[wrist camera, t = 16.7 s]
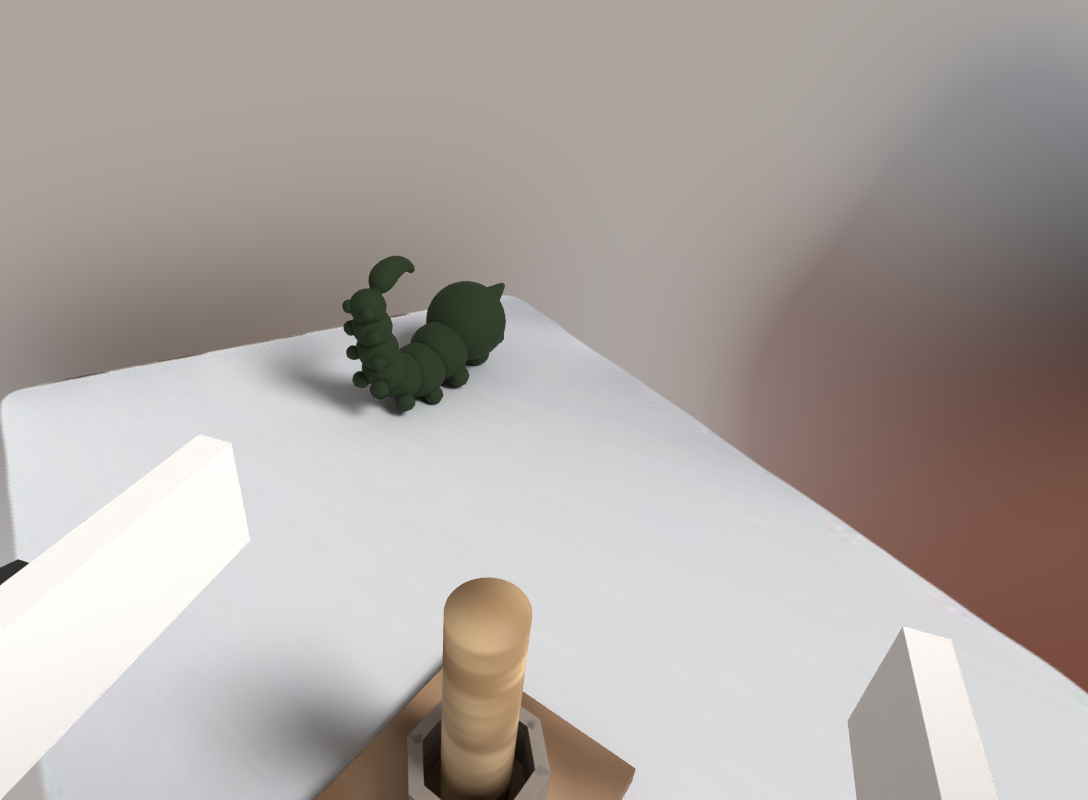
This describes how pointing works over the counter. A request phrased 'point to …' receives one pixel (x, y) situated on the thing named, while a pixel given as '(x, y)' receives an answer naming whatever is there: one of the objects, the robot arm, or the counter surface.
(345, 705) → the counter surface
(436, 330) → the toy figurine
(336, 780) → the cup bracket
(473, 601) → the oak cylinder
